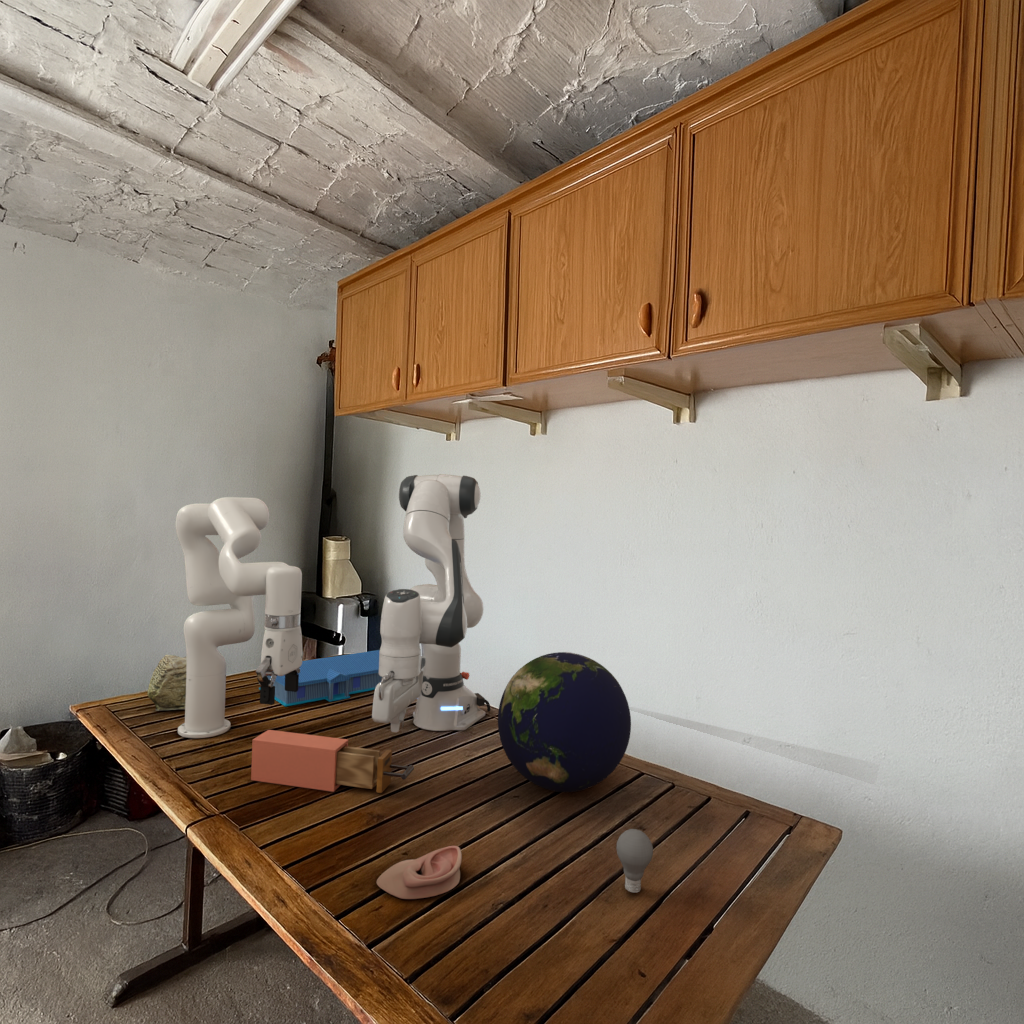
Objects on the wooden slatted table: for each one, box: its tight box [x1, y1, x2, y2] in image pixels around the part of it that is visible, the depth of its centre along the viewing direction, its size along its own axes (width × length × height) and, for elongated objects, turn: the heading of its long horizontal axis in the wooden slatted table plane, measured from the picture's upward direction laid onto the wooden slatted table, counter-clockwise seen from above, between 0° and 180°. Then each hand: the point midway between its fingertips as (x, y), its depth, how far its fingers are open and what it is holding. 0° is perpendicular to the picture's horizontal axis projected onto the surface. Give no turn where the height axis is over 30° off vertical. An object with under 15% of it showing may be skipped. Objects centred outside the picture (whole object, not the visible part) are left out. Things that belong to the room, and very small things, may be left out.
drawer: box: [335, 745, 415, 794], centre depth 139 cm, size 24×5×7 cm, turn 79°
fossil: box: [147, 654, 187, 712], centre depth 185 cm, size 9×18×15 cm, turn 132°
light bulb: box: [615, 828, 654, 894], centre depth 106 cm, size 6×6×10 cm
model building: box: [258, 649, 382, 707], centre depth 208 cm, size 39×24×10 cm, turn 132°
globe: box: [497, 651, 632, 793], centre depth 143 cm, size 30×30×30 cm
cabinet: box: [250, 729, 349, 793], centre depth 141 cm, size 20×6×9 cm, turn 79°
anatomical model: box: [376, 845, 463, 900], centre depth 106 cm, size 13×4×12 cm
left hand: (279, 697), depth 142 cm, fingers open, 9 cm apart
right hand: (397, 729), depth 137 cm, fingers closed
